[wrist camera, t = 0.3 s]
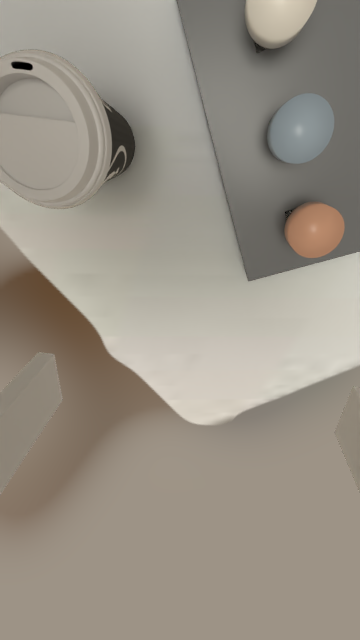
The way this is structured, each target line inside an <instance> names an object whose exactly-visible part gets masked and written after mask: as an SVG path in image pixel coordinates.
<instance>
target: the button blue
mask: <svg viewBox="0 0 360 640" xmlns="http://www.w3.org/2000/svg"><path fill="white" fill-rule="evenodd" d="M333 130H334V114H333V111H332V108H331V106H330V104H329V103H328V102H327V101H326V100H325V99H324V98H323V97H321V96H319V95H317V94H313V93H305V94H300V95H297V96H295V97H293V98H292V99H290V100H289V101H288V102H286V103H285V104H284V105H282V106H281V107H280V108H279V109H278V110H277V111H276V113H275V114H274V116H273V117H272V119H271V121H270V124H269V127H268V133H267V140H268V146H269V148H270V151H271V152H272V154H273V155H274V156H275V157H276V158H277V159H278V160H280V161H282V162H285V163H293V164H301V163H305V162H308V161H310V160H312V159H314V158H315V157H317V156H318V155H319V154H320V153H321V152H322V151H323V150H324V149H325V148H326V146H327V145H328V143H329V141H330V139H331V137H332V134H333Z"/></svg>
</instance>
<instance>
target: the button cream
mask: <svg viewBox="0 0 360 640" xmlns="http://www.w3.org/2000/svg"><path fill="white" fill-rule="evenodd" d="M316 2H317V0H246V4H245V22H246V26H247V29H248V32H249V34H250V36H251V37H252V39H253V40H254V41H255V42H256V43H257V44H259V45H260V46H262V47H264V48H269V49H275V48H279V47H282V46H284V45H286V44H288V43H289V42H291V41H292V40H293V39H294V38H295V37H296V36H297V35H298V33H299V32H300V31H301V29H302V28H303V26H304V25H305V23H306V22H307V20H308V19H309V17H310V15H311V14H312V12H313V10H314V8H315V5H316Z"/></svg>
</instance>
